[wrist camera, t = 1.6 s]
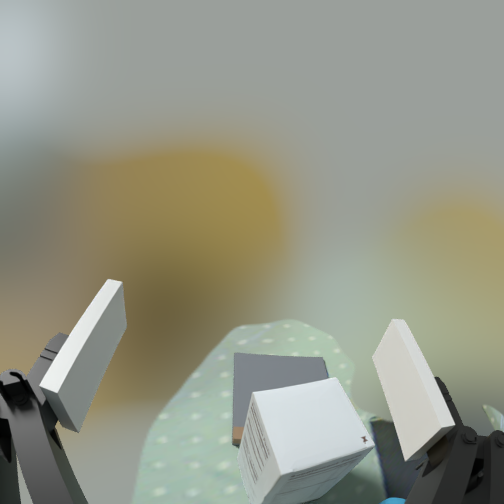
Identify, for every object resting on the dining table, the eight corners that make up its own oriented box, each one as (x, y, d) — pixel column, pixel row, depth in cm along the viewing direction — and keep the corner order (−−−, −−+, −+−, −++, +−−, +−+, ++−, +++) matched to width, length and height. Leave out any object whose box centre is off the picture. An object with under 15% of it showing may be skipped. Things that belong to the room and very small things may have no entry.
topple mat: (341, 443, 37) (346, 437, 36) (232, 444, 36) (233, 438, 35) (322, 359, 53) (325, 351, 52) (234, 354, 52) (235, 346, 51)
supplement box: (299, 445, 37) (339, 373, 29) (322, 497, 29) (380, 444, 21) (233, 457, 34) (250, 389, 26) (251, 516, 26) (280, 476, 19)
